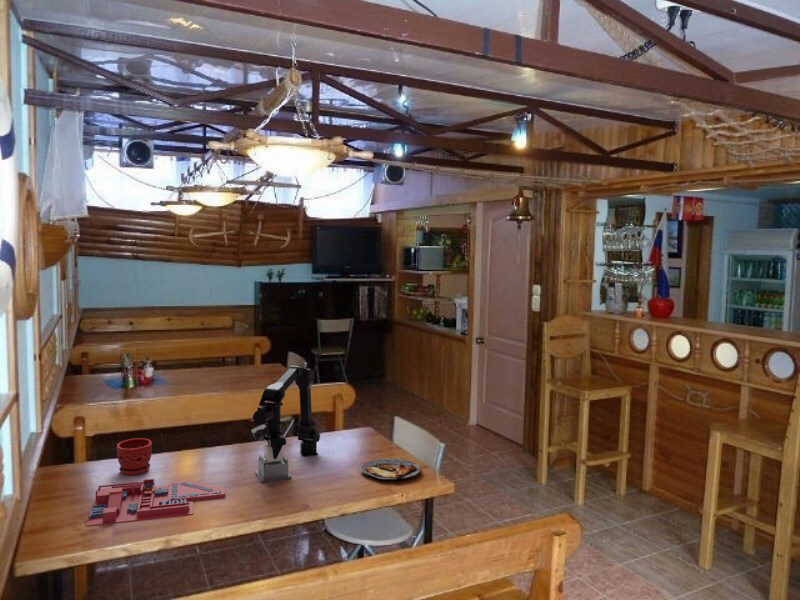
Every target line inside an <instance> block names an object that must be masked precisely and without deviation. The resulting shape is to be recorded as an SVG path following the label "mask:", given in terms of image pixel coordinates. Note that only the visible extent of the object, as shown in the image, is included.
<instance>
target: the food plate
mask: <svg viewBox="0 0 800 600" xmlns="http://www.w3.org/2000/svg"><path fill="white" fill-rule="evenodd" d="M359 469H360V471H361V474H362V473H363V474H365V475H368V476H371V477H374V478H376V479H380V480H386V481H391V480H392V481H396V480H397V481H398V480H405V479H407V478H411V477H414V476H417V475H419V474H420V472H421V471H422V468H421V466H420V465H418V464H417V463H416V462H415V463H414V462H412V461H409V460H407V459H402V458H378V459H372V460H369V461H366V462H364V463H362V464H361V466H360V467H359Z"/></svg>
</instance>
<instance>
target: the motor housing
mask: <svg viewBox="0 0 800 600" xmlns="http://www.w3.org/2000/svg"><path fill="white" fill-rule="evenodd" d="M257 460H258V461H257V467H258V468H257V469H255V470H254V472H255V474H256V476H257V478H258V480H259V481H260V483H261V484H262V483H263V484H264V483H270V482H278V481H279V482H280V481H285V480H292V475H291V474H290V472H289V460H288V459H287V457H286V455H284V453H283V452H282V460H281V461H273V462H267V461H266V459H265V458H264V457H263V455H262V454H259V455H258V459H257Z"/></svg>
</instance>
